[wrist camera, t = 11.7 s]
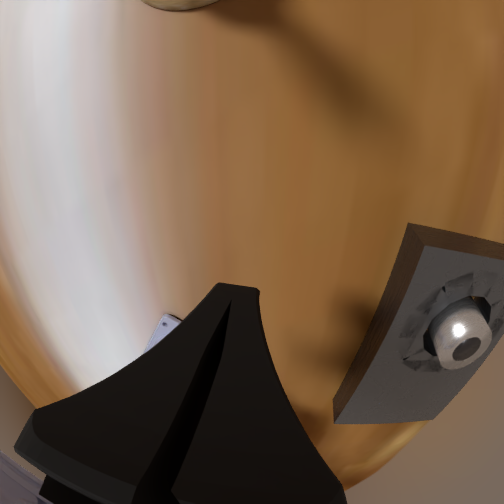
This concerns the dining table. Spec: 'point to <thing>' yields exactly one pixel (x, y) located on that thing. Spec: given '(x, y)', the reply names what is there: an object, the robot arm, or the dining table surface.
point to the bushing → (459, 334)
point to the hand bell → (178, 4)
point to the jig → (421, 328)
